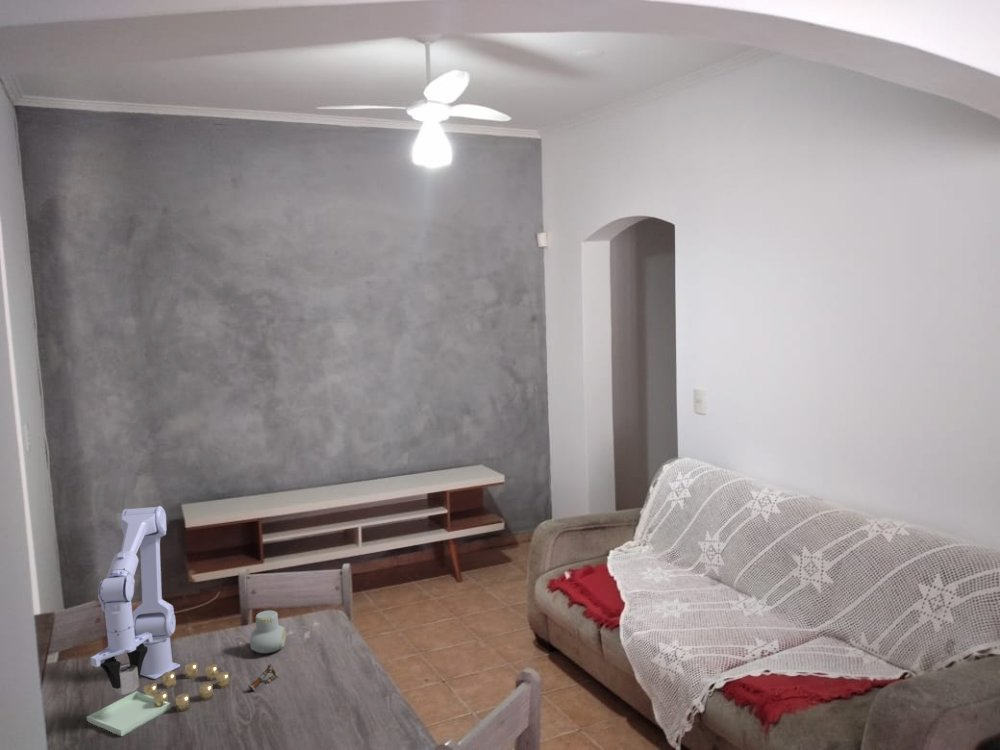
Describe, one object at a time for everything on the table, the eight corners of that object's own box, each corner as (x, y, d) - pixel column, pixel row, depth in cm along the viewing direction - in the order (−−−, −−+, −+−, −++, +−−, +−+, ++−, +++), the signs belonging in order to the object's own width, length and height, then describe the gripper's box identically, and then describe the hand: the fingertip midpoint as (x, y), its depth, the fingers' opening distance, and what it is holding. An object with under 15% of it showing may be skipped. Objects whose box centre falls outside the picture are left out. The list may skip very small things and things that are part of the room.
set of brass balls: (134, 700, 195) (132, 689, 195) (195, 668, 210) (194, 657, 210) (179, 716, 186) (178, 704, 186) (239, 682, 202) (238, 671, 201)
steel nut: (111, 691, 187) (109, 670, 186) (129, 682, 190) (126, 662, 190) (125, 696, 184) (123, 675, 183) (142, 687, 188) (140, 666, 187)
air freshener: (257, 641, 225) (254, 607, 224) (287, 638, 226) (284, 605, 225) (250, 659, 214) (246, 624, 213) (281, 656, 215) (278, 621, 214)
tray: (87, 722, 186) (86, 716, 186) (137, 696, 197) (136, 691, 197) (121, 736, 179) (120, 730, 179) (171, 708, 190) (170, 702, 190)
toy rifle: (282, 674, 203) (275, 662, 201) (259, 699, 198) (251, 686, 196) (277, 672, 204) (270, 660, 202) (254, 697, 199) (247, 684, 197)
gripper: (101, 643, 177) (107, 700, 179) (158, 618, 190) (163, 672, 191) (82, 637, 181) (89, 693, 182) (139, 613, 193) (145, 666, 195)
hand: (126, 682), depth 187 cm, fingers closed on steel nut, 4 cm apart
